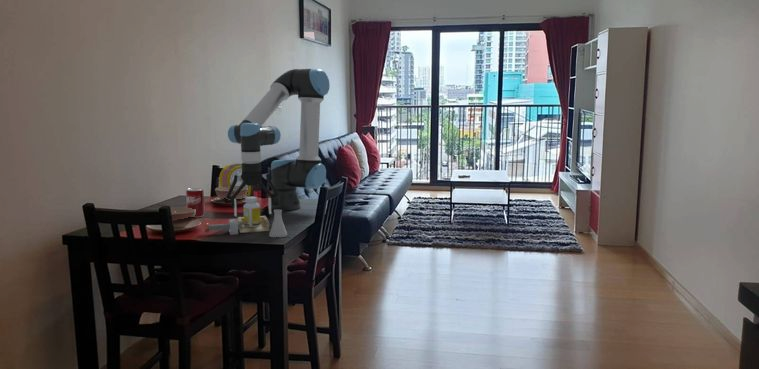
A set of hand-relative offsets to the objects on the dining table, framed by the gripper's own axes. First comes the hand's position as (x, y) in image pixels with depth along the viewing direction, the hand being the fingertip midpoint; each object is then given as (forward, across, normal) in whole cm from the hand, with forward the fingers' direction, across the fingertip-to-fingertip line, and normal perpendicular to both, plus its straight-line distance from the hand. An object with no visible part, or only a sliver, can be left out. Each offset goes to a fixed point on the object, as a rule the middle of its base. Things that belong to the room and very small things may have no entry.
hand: (253, 214), depth 225 cm
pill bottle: (+5, 0, 0) cm, 5 cm away
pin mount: (+5, +8, +6) cm, 11 cm away
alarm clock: (+6, +2, -66) cm, 67 cm away
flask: (+6, -8, +16) cm, 18 cm away
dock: (+5, 0, +1) cm, 5 cm away
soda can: (+6, +22, -28) cm, 36 cm away
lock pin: (+5, +12, +6) cm, 14 cm away
